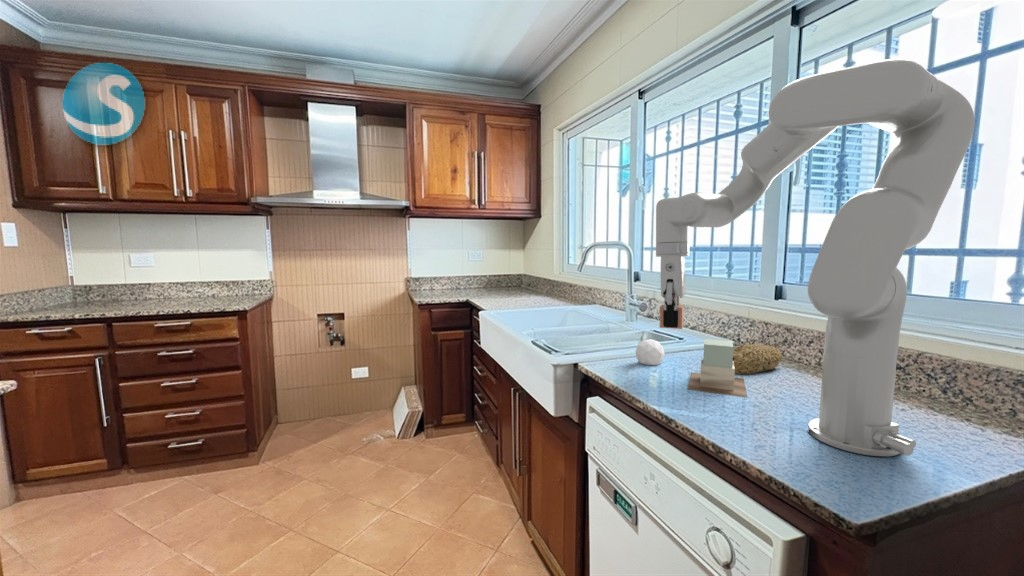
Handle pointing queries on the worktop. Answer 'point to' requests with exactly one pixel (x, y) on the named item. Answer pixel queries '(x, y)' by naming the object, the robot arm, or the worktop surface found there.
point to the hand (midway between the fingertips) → (671, 324)
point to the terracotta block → (680, 317)
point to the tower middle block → (718, 353)
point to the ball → (649, 352)
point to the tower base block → (717, 377)
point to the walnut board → (738, 388)
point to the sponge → (755, 358)
